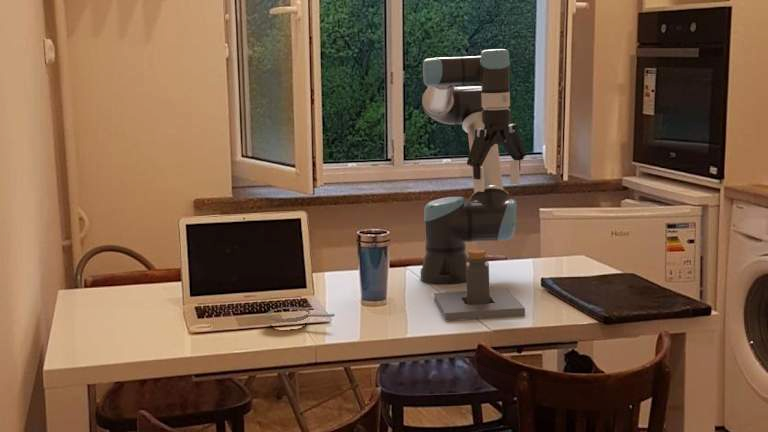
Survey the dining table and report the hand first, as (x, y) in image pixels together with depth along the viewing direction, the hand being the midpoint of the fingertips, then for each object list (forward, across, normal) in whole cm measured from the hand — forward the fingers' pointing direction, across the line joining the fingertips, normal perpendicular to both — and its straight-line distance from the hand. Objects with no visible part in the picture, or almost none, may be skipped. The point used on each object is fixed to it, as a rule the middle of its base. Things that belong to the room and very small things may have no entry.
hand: (497, 187), depth 267 cm
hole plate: (+28, -16, -8) cm, 34 cm away
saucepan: (+29, -57, +13) cm, 65 cm away
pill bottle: (+29, -5, +4) cm, 30 cm away
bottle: (+29, -16, -8) cm, 34 cm away
